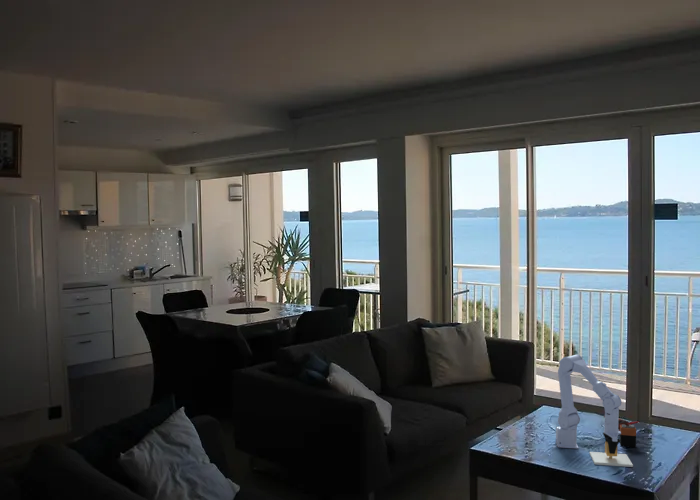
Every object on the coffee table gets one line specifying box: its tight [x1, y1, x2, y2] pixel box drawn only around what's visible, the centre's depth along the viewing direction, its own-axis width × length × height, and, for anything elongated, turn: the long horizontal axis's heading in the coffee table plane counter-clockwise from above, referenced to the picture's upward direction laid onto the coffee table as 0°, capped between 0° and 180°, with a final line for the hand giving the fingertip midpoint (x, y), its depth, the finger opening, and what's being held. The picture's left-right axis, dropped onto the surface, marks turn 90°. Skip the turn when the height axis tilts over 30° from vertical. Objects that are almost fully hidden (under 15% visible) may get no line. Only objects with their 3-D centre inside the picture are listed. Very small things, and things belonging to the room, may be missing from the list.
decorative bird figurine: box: [603, 415, 640, 431], centre depth 315 cm, size 3×18×10 cm, turn 82°
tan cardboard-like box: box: [604, 440, 618, 456], centre depth 281 cm, size 4×4×5 cm
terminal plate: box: [589, 451, 634, 468], centre depth 282 cm, size 16×12×4 cm
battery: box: [619, 424, 637, 448], centre depth 299 cm, size 4×7×10 cm, turn 75°
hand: (610, 451), depth 281 cm, fingers closed on tan cardboard-like box, 4 cm apart
